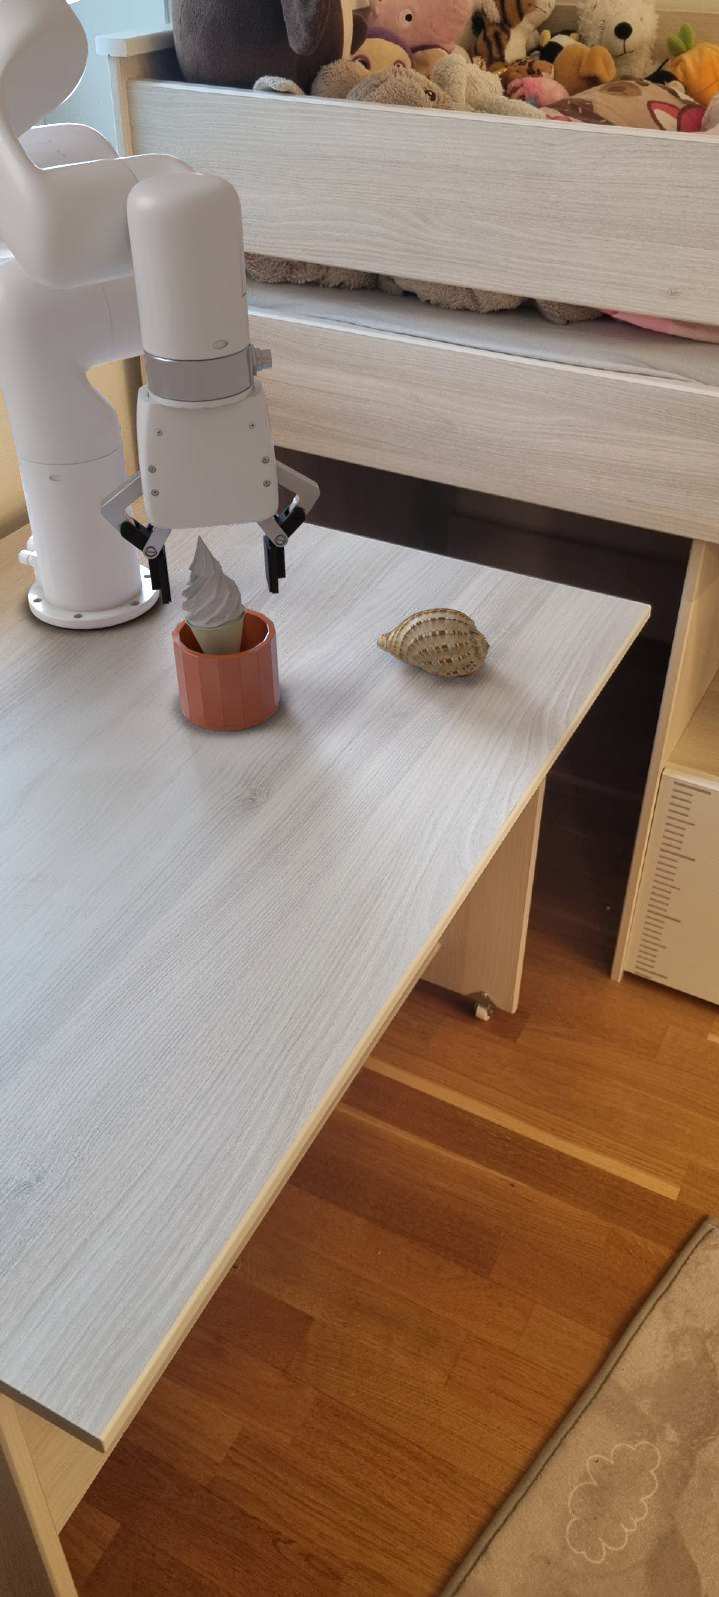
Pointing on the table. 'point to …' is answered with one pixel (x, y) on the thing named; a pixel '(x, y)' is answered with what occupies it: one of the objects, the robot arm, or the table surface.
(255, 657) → the cone holder
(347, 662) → the table surface
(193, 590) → the ice cream cone
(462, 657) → the seashell
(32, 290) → the robot arm
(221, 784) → the table surface
